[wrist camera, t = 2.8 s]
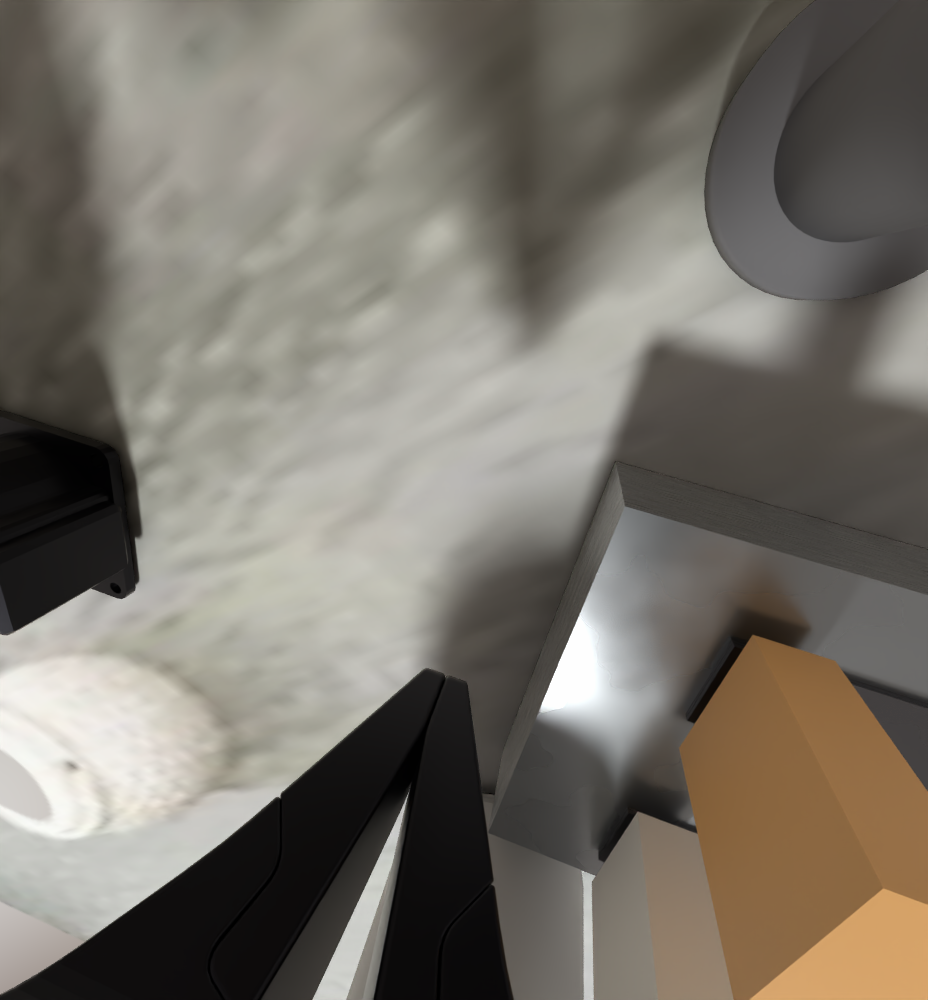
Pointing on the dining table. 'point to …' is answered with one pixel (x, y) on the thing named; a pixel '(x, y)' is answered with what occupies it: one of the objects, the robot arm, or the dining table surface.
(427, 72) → the dining table surface
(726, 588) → the breaker block
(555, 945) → the can
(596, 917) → the slider
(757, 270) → the rubber post
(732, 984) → the slider
